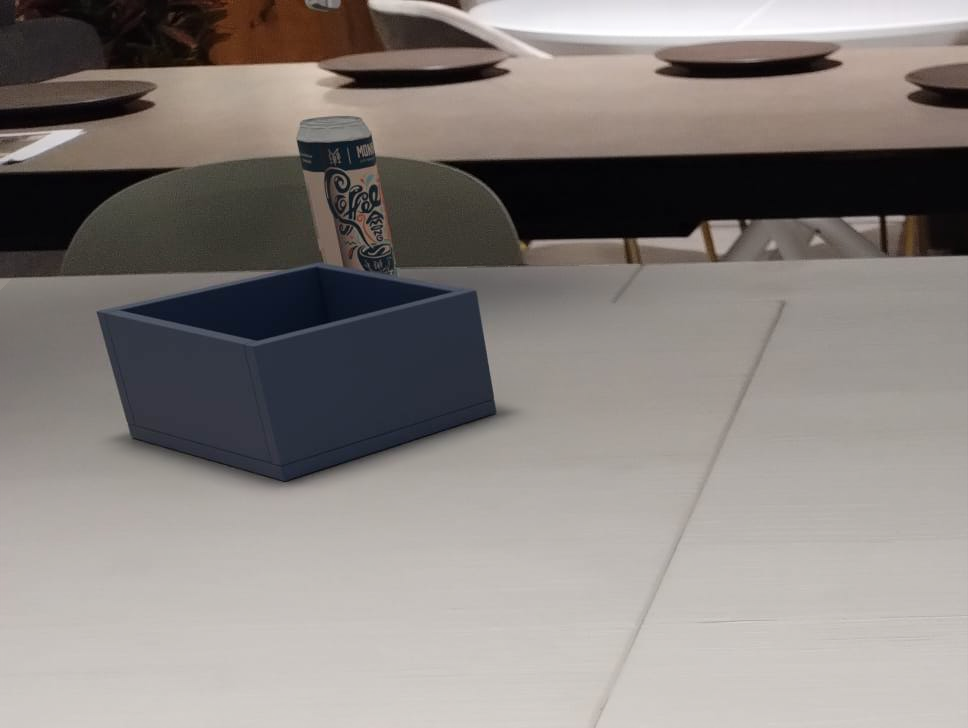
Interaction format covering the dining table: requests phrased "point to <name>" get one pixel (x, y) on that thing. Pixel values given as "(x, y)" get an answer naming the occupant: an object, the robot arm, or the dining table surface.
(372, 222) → the coffee can
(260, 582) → the dining table surface
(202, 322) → the bin
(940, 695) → the dining table surface
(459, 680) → the dining table surface
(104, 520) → the dining table surface
